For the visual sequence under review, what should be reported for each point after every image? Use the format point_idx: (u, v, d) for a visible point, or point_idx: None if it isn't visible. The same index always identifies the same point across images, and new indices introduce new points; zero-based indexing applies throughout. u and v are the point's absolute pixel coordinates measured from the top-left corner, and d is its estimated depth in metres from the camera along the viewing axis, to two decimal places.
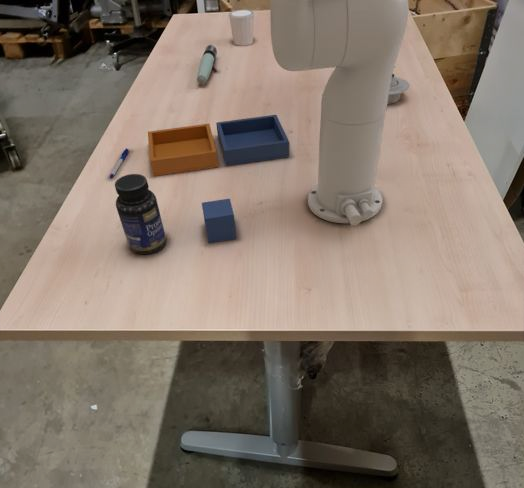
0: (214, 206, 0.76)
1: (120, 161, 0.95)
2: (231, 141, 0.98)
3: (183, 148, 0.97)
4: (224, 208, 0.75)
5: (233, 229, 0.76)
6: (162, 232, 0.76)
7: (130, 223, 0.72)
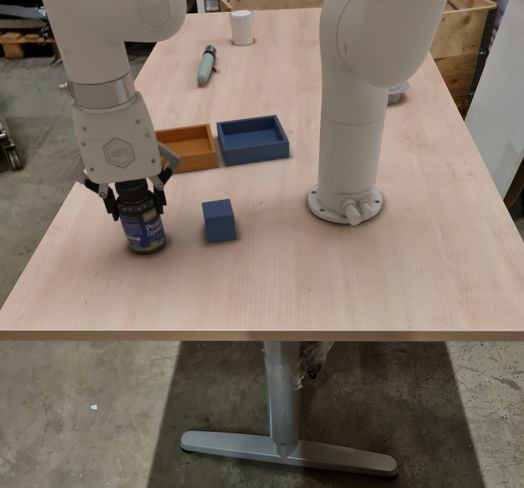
0: (214, 206, 0.76)
1: None
2: (231, 141, 0.98)
3: (183, 148, 0.97)
4: (224, 208, 0.75)
5: (233, 229, 0.76)
6: (162, 232, 0.76)
7: (130, 223, 0.72)
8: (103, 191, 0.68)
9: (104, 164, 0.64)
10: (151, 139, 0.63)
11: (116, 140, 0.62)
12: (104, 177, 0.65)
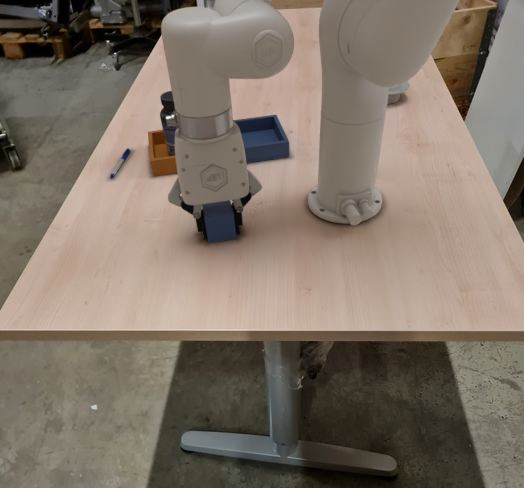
0: (214, 206, 0.76)
1: (121, 161, 0.95)
2: None
3: None
4: (224, 208, 0.75)
5: (233, 229, 0.76)
6: None
7: (172, 130, 0.89)
8: (197, 212, 0.74)
9: (199, 188, 0.69)
10: (244, 165, 0.68)
11: (213, 166, 0.67)
12: (197, 199, 0.71)
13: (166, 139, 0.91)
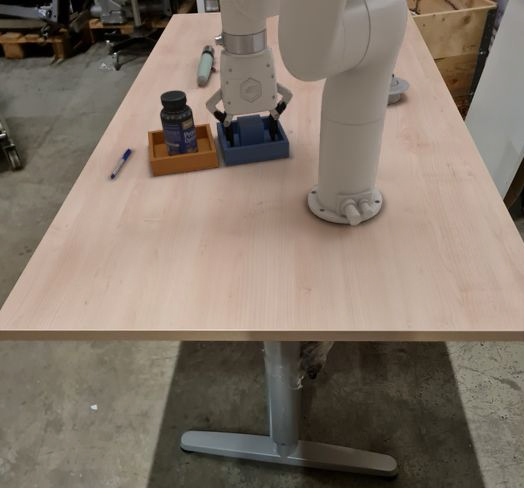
0: (247, 119, 0.94)
1: (122, 161, 0.95)
2: None
3: None
4: (255, 120, 0.93)
5: (262, 138, 0.94)
6: (196, 142, 0.93)
7: (172, 130, 0.89)
8: (227, 121, 0.91)
9: (238, 99, 0.87)
10: (274, 79, 0.86)
11: (250, 79, 0.85)
12: (236, 109, 0.88)
13: (166, 139, 0.91)
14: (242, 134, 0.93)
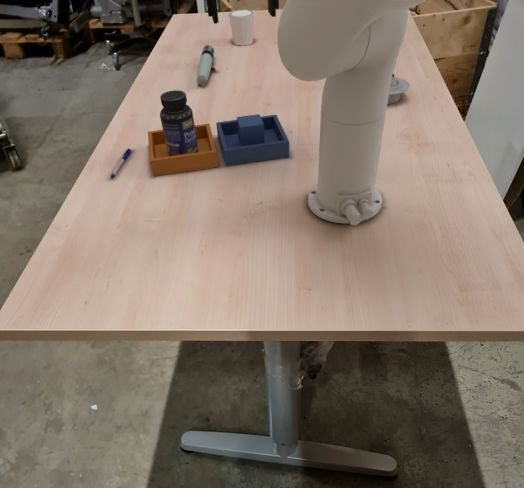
0: (247, 119, 0.94)
1: (122, 161, 0.95)
2: (231, 141, 0.98)
3: None
4: (255, 120, 0.93)
5: (262, 138, 0.94)
6: (196, 142, 0.93)
7: (172, 130, 0.89)
8: None
9: None
10: None
11: None
12: None
13: (166, 139, 0.91)
14: (242, 134, 0.93)
